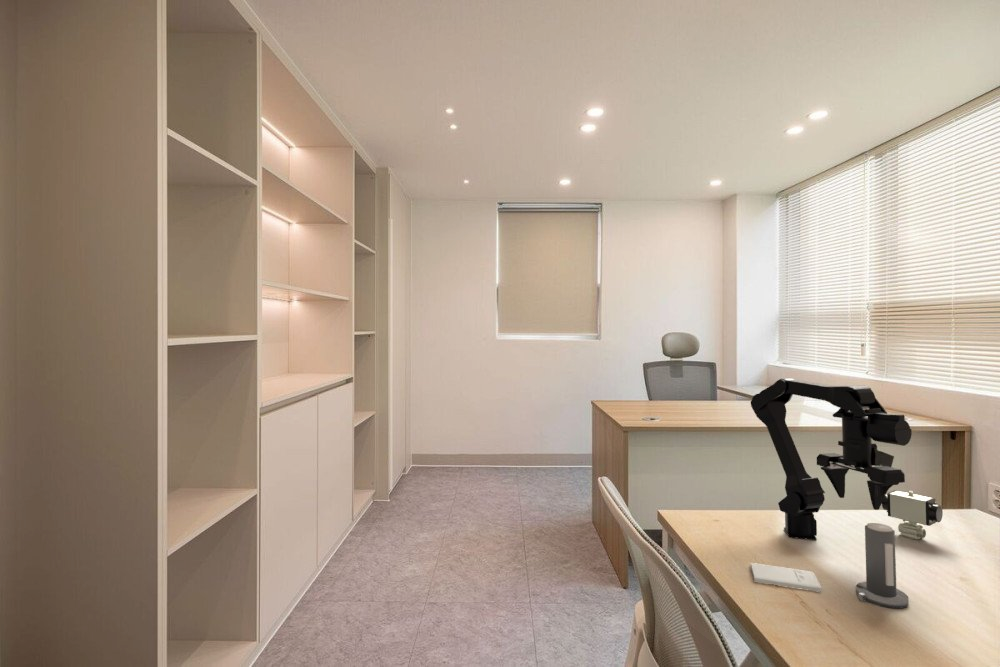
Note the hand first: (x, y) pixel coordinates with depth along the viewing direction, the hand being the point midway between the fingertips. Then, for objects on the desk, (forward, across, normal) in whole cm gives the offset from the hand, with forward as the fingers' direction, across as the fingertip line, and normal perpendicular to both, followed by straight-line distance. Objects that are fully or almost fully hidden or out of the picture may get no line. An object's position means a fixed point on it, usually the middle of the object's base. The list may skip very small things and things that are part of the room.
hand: (858, 503), depth 119 cm
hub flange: (+13, -16, +12) cm, 24 cm away
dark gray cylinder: (+12, -16, +12) cm, 24 cm away
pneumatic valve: (+13, +8, -26) cm, 30 cm away
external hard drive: (+14, -6, +26) cm, 30 cm away
